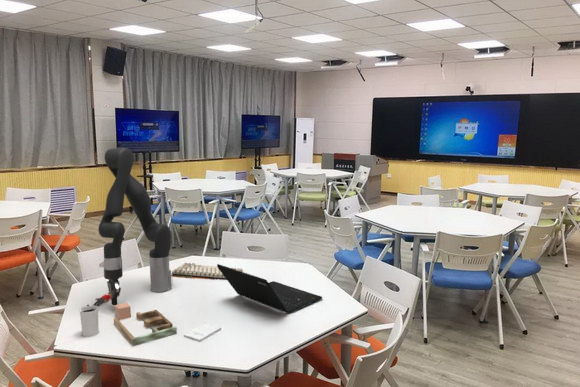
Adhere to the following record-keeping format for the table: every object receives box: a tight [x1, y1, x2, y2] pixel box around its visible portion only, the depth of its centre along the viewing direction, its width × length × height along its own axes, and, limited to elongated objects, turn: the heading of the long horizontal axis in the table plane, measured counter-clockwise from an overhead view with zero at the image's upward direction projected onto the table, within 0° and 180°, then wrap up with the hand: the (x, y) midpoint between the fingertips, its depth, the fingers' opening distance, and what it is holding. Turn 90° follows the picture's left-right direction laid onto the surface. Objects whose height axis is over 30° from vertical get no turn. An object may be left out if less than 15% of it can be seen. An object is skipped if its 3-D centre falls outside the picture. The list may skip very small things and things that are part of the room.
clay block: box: [114, 302, 132, 321], centre depth 186 cm, size 5×5×5 cm
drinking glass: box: [79, 304, 100, 338], centre depth 170 cm, size 7×7×10 cm
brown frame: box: [113, 309, 178, 347], centre depth 175 cm, size 17×23×2 cm
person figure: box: [86, 292, 111, 307], centre depth 202 cm, size 5×4×18 cm
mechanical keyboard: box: [171, 262, 244, 281], centre depth 243 cm, size 38×19×3 cm, turn 80°
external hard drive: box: [183, 322, 222, 343], centre depth 172 cm, size 2×8×12 cm
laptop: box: [216, 263, 323, 314], centre depth 203 cm, size 33×38×19 cm
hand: (114, 304), depth 193 cm, fingers closed
